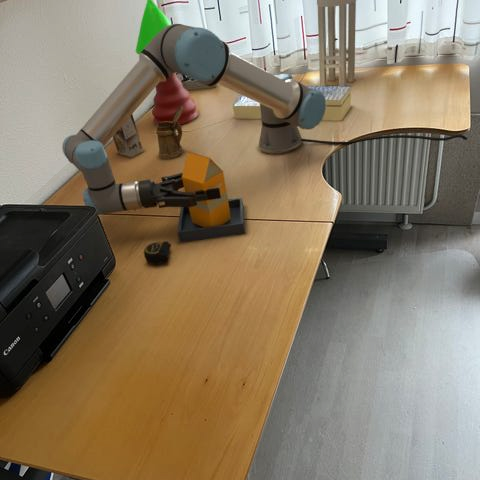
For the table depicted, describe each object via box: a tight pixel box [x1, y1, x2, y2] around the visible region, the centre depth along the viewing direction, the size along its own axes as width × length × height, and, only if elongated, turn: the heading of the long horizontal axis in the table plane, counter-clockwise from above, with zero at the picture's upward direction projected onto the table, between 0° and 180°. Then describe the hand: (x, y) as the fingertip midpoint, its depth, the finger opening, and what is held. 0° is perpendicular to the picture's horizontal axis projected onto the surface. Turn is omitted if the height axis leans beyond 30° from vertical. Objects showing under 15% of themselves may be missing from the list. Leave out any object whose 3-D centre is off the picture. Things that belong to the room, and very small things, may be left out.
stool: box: [316, 0, 357, 87], centre depth 201 cm, size 16×16×35 cm
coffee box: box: [112, 113, 144, 158], centre depth 183 cm, size 9×6×16 cm
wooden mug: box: [155, 105, 184, 160], centre depth 175 cm, size 9×14×18 cm, turn 68°
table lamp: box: [135, 0, 199, 126], centre depth 195 cm, size 20×20×45 cm
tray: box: [176, 197, 246, 243], centre depth 139 cm, size 19×15×3 cm
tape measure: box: [143, 240, 172, 265], centre depth 130 cm, size 7×7×4 cm
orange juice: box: [182, 151, 231, 227], centre depth 133 cm, size 8×9×20 cm
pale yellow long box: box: [232, 85, 352, 122], centre depth 192 cm, size 45×15×10 cm, turn 66°
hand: (220, 183), depth 132 cm, fingers closed on orange juice, 10 cm apart
